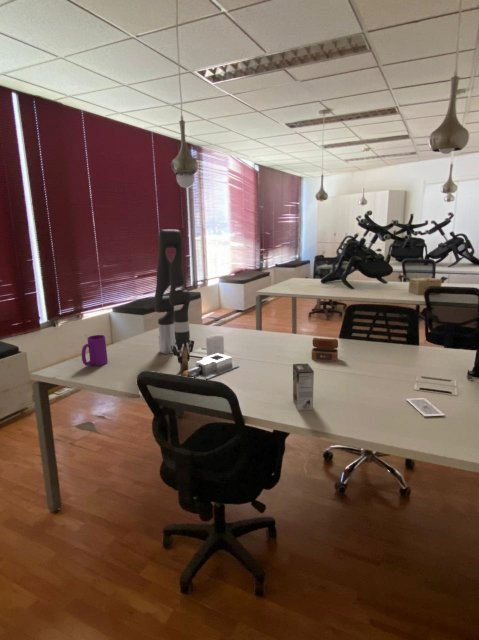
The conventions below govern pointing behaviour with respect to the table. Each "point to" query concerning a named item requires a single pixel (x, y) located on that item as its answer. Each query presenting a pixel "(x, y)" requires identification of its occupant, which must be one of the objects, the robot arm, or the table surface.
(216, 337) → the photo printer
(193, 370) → the lock pin
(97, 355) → the mug
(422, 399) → the touchpad
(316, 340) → the box
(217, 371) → the dock
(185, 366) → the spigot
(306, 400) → the coffee box
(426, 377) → the table surface
